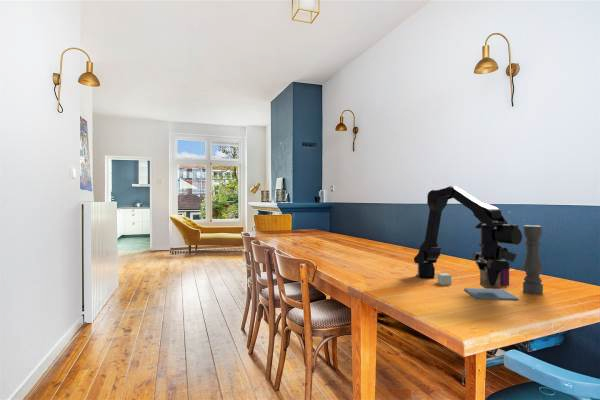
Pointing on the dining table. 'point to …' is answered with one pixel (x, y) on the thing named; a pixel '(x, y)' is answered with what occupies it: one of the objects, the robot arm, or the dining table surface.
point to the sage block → (444, 279)
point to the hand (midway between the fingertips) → (489, 283)
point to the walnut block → (485, 280)
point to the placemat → (490, 294)
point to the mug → (504, 277)
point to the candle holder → (532, 260)
